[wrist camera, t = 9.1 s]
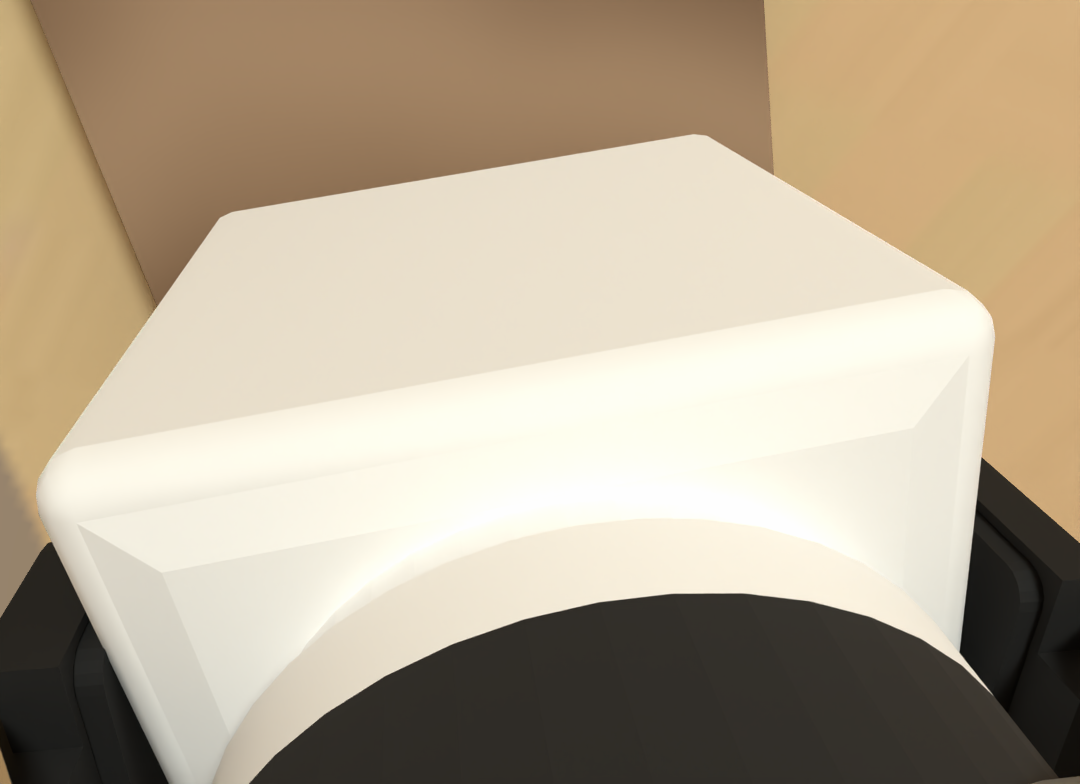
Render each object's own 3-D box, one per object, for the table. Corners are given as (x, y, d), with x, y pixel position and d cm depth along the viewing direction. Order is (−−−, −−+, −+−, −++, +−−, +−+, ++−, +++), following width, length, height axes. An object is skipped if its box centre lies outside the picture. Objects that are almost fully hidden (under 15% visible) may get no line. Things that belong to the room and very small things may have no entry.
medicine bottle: (210, 208, 12) (-1177, 2026, 1) (711, 124, 13) (2403, 1061, 2) (334, 606, 15) (178, 2061, 5) (729, 528, 16) (1395, 1704, 5)
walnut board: (776, 580, 24) (799, 617, 22) (336, 685, 23) (332, 730, 22) (709, -364, 14) (740, -395, 13) (-24, -221, 14) (-70, -240, 13)
